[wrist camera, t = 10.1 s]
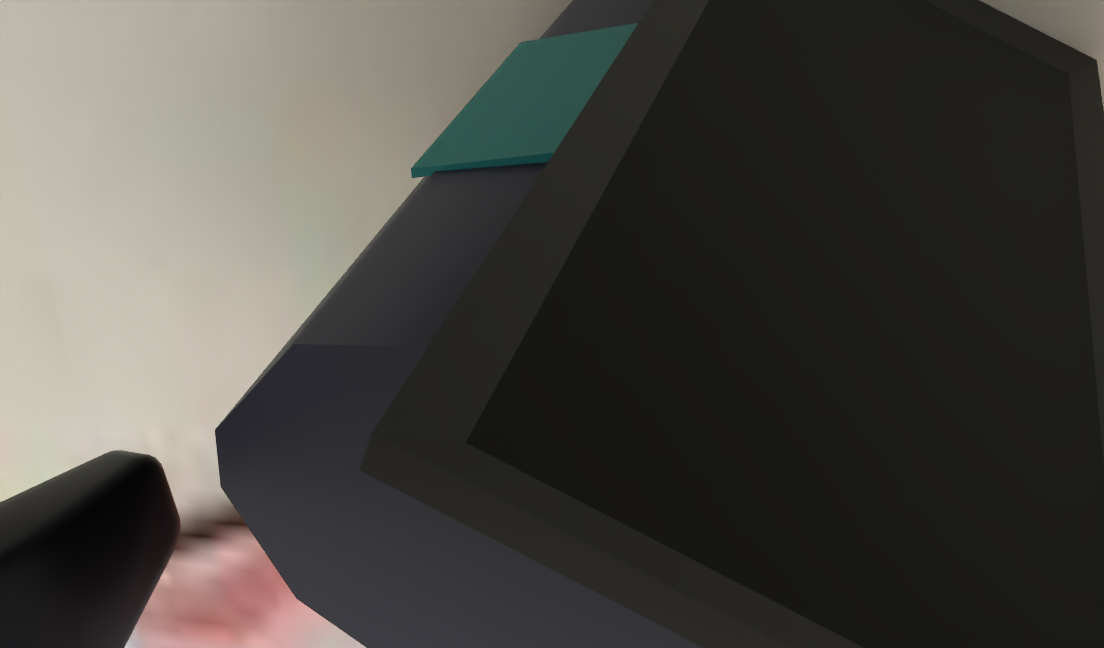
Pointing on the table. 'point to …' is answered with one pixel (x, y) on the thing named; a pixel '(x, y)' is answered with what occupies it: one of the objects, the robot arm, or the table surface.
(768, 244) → the speaker
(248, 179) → the table surface
